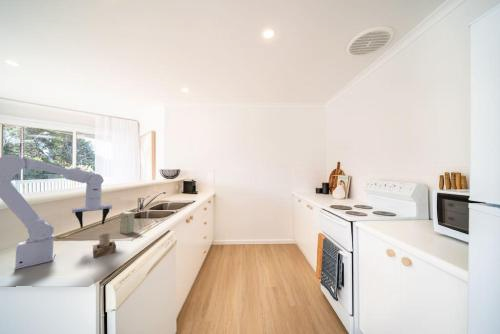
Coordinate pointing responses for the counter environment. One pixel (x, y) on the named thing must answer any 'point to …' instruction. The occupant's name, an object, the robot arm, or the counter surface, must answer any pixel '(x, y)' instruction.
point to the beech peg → (104, 240)
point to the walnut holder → (104, 249)
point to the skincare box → (127, 222)
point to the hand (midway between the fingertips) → (92, 225)
